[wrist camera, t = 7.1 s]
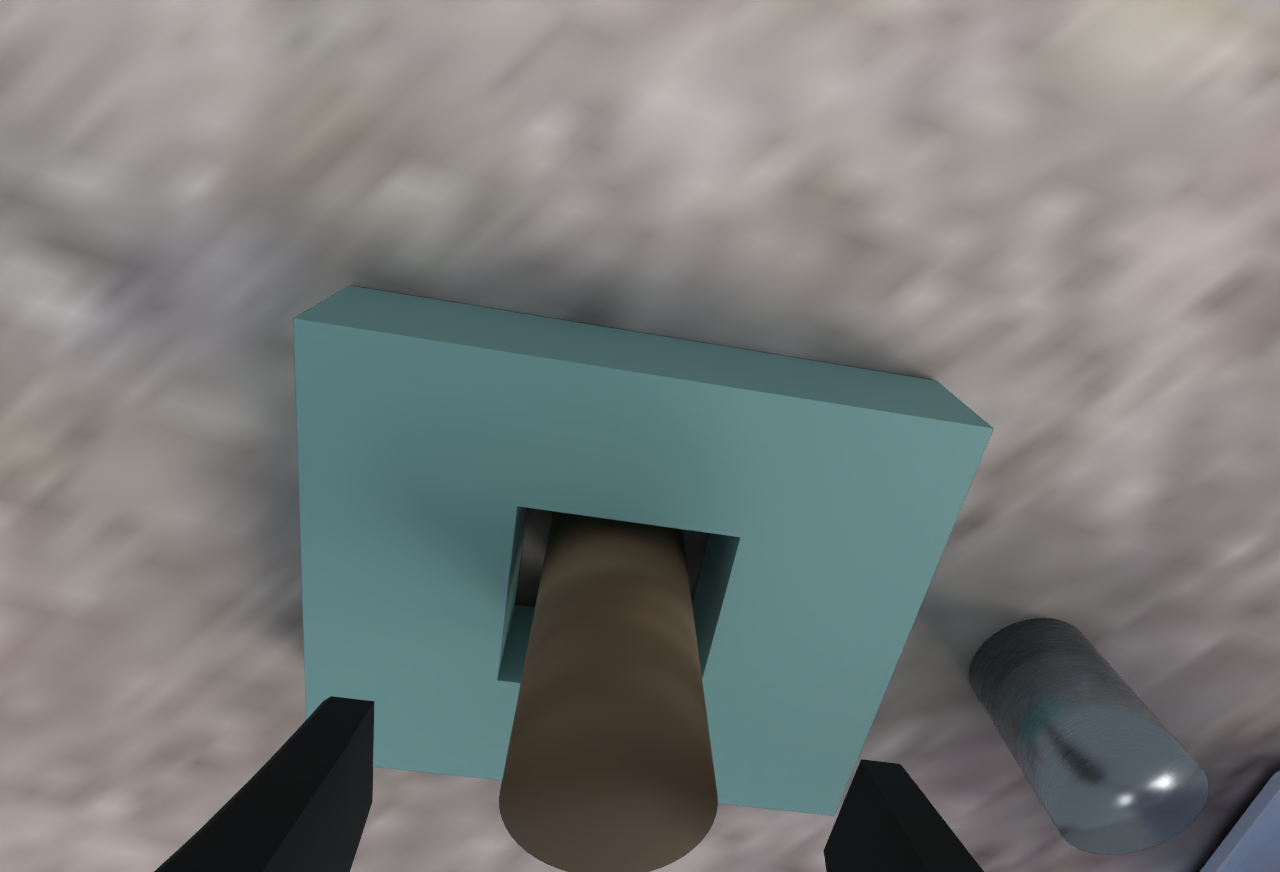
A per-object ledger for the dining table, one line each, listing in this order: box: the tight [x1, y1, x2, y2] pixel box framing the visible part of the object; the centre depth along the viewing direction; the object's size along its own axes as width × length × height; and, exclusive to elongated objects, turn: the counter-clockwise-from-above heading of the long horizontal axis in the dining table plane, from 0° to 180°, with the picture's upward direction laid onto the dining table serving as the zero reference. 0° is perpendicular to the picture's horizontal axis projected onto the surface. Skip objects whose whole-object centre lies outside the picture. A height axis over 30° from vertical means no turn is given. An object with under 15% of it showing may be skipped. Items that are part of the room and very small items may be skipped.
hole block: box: [293, 286, 994, 816], centre depth 15 cm, size 12×10×2 cm
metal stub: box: [969, 618, 1209, 855], centre depth 16 cm, size 3×3×4 cm
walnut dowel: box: [499, 512, 718, 872], centre depth 13 cm, size 3×3×7 cm
